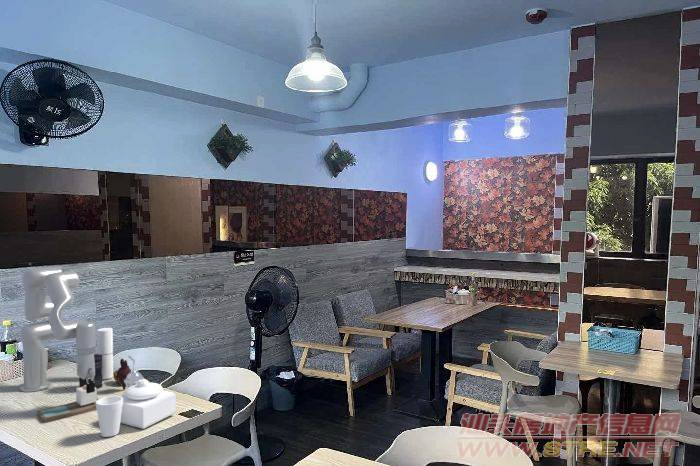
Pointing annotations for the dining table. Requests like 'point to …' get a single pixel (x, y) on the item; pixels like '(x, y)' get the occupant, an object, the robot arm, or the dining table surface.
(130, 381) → the cup with straw
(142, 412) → the butter dish
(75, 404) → the post stand
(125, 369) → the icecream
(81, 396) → the white cube with handle
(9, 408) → the dining table surface
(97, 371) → the storage jar
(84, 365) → the robot arm
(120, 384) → the hot dog
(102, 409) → the foam cup
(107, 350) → the cylindrical container
